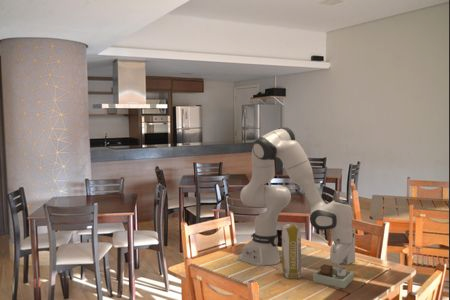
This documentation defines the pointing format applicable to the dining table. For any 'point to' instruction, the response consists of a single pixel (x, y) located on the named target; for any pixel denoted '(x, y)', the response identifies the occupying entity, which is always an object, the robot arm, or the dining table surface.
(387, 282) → the dining table surface
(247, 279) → the dining table surface
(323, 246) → the dining table surface
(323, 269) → the walnut block
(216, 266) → the dining table surface
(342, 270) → the aluminium bushing
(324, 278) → the tray
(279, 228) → the coffee mug
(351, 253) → the milk carton
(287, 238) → the juice carton
